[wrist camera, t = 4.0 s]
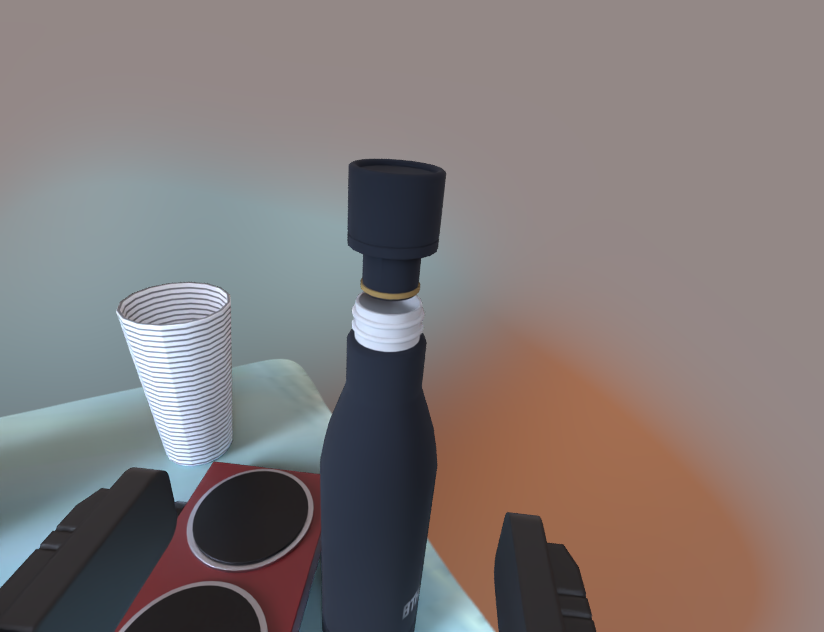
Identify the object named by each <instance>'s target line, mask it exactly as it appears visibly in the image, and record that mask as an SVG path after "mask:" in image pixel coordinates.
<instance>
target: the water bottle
mask: <svg viewBox="0 0 824 632" xmlns="http://www.w3.org/2000/svg"><path fill="white" fill-rule="evenodd" d="M445 179H446V172H445V171H444V170H443V169H442V168H440V167H437V166H435V165H431V164H426V163H420V162H414V161H406V160H394V159H362V160H357V161H353V162H351V163H350V164H349V179H348V186H349V187H348V246H350V247H351V248H352V249H353V250H355V251H357V252H359V253H361V254H363V276H362V279H361V289H362V290H363V292H362V293H360V294H359V295H358V296H357V298H356V303H355V305H354V306H353V308H352V313H353V315H354V319H353V321H352V329H351V331H350V333H349V334H348V336H347V368H346V369H347V371H346V384H345V386H344V388H343V391H342V393H341V395H340V397H339V400H338V402H337V404H336V407H335V409H334V411H333V414H332V416H331V419H330V421H329V424H328V428H327V432H326V435H325V439H324V444H323V449H322V454H321V459H320V498H321V563H322V629H323V632H414V628H415V621H416V614H417V607H418V600H419V592H420V585H421V578H422V571H423V564H424V557H425V550H426V543H427V536H428V528H429V521H430V514H431V507H432V500H433V493H434V485H435V479H436V471H437V454H436V443H435V436H434V428H433V425H432V421H431V417H430V414H429V410H428V406H427V403H426V400H425V397H424V393H423V389H422V379H423V369H424V361H425V351H426V339H425V336H424V334H423V333H422V331H423V328H424V326H423V324H422V321H423V319H424V316H425V312H424V310H423V307H422V301H421V299H420V298H419V297H418V296H417V295H416V294H417V293H418V292H419V290H420V283H419V275H420V264H421V258H424V257H427V256H431V255H432V254H434V253H435V252H437V249H438V242H439V234H440V225H441V216H442V207H443V197H444V188H445Z"/></svg>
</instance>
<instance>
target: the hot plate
mask: <svg viewBox="0 0 824 632" xmlns="http://www.w3.org/2000/svg"><path fill="white" fill-rule="evenodd" d="M175 506H176V511H177V525H176V530H175V533H174V535H173V538H172V540H171V542H170V544H169V545H168V547H167V549H166V550H165V552H164V553H163V555H162V557H161V558H160V560H159V561H158V563H157V564H156V566H155V568H154V569H153V571H152V572H151V574H150V576H149V577H148V579H147V580H146V582H145V584H144V585H143V587H142V588H141V590H140V592H139V593H138V595H137V596H136V598H135V599H134V601H133V603H132V604H131V606H130V607H129V609H128V611H127V612H126V614H125V615H124V617H123V619H122V620H121V622H120V623H119V625H118V627H117V628H116V630H115V631H114V632H299V628H300V625H301V621H302V618H303V614H304V611H305V607H306V604H307V600H308V597H309V593H310V589H311V586H312V582H313V579H314V575H315V572H316V568H317V565H318V561H319V558H320V554H321V498H320V474H315V473H306V472H298V471H290V470H281V469H273V468H265V467H256V466H248V465H239V464H231V463H223V462H213V463H212V465H211V466H210V468H209V470H208V471H207V473H206V474H205V476H204V477H203V479H202V480H201V482H200V484H199V485H198V487H197V488H196V490H195V491H194V493H193V494H192V496H191V498H190V499H189V501H188V502H181V501H177V502H175Z"/></svg>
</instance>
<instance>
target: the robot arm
mask: <svg viewBox="0 0 824 632" xmlns="http://www.w3.org/2000/svg"><path fill="white" fill-rule="evenodd" d="M176 525H177V511H176V506H175V502H174V497H173V493H172V488H171V483H170V479H169V475H168V473H167V472H166V471H163V470H154V469H146V468H137V467H132V468H129V469H128V470H126V471H125V472H124V473H123V474H122V475H121V477H120V478H119V479H118V480H117V481H116V482H115V483H114V485H113V486H112V487H111V488H110V489H105V488H101V489H100V490H98V491H97V492H95V493H94V494H92V495H91V496H89V497H88V498H86V499H85V500H83V501H82V502H80V503H79V504H77V505H76V506H75V507H74V508H73V509H72V510H71V512H70V513H69V514H68V515H67V516H66V517H65V518H64V519H63V520H62V521H61V522H60V524H59V525H58V526H57V529H56V530H55V531H52V532H51V533H50V535H49V536H48V537H47V538H46V539H45V540H44V541H43V542H42V543H41V544H40V545H41V546H40V548H39V549H36V550H35V551H34V552H33V553H32V554H31V555H30V556H29V557H28V559H27V560H26V561H25V562H24V563H23V564H22V565H21V566H20V567H19V568H18V569H17V571H16V572H15V573H14V574H13V575H12V576H11V577H10V578H9V579H8V580H7V581H6V583H5V584H4V585H3V586H2V587H1V588H0V632H114V631H115V630H116V628H117V627H118V625H119V623H120V622H121V620H122V619H123V617H124V615H125V614H126V612H127V611H128V609H129V607H130V606H131V604H132V603H133V601H134V599H135V598H136V596H137V595H138V593H139V592H140V590H141V588H142V587H143V585H144V584H145V582H146V580H147V579H148V577H149V576H150V574H151V572H152V571H153V569H154V568H155V566H156V564H157V563H158V561H159V560H160V558H161V557H162V555H163V553H164V552H165V550H166V549H167V547H168V545H169V544H170V542H171V540H172V538H173V535H174V533H175V530H176ZM494 581H495V582H494V583H495V595H496V606H497V617H498V628H499V632H596V628H595V625H594V621H593V620H592V614H591V610H590V606H589V603H588V599H587V598H586V592H585V588H584V585H583V581H582V577H581V573H580V570H579V567H578V565H577V564H576V562H575V561H574V560H573V558H572V557H571V555H570V554H569V552H568V551H567V549H566V548H565V546H564V545H563V544H554V543H547V541H546V536H545V532H544V528H543V523H542V520H541V518H540V516H535V515H527V514H518V513H509V512H507V513H506V515H505V518H504V523H503V527H502V531H501V535H500V539H499V543H498V548H497V552H496V557H495V567H494Z"/></svg>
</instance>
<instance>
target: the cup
mask: <svg viewBox="0 0 824 632" xmlns="http://www.w3.org/2000/svg"><path fill="white" fill-rule="evenodd" d="M116 313H117V316H118V319H119V321H120V324H121V327H122V330H123V333H124V336H125V338H126V341H127V344H128V347H129V350H130V353H131V356H132V358H133V361H134V364H135V367H136V370H137V373H138V376H139V378H140V381H141V384H142V387H143V390H144V393H145V395H146V398H147V401H148V404H149V407H150V410H151V413H152V415H153V418H154V421H155V424H156V427H157V430H158V432H159V435H160V438H161V441H162V444H163V447H164V450H165V452H166V454H167V456H168V457H169V459H170V460H171V461H173V462H175V463H177V464H179V465H184V466H196V465H201V464H206V463H209V462H211V461H213V460H215V459H217V458H219V457H220V456H221V455H222V454H224V453H225V452H226V451H227V450H228V448H229V446H230V445H231V443H232V441H233V436H232V366H231V365H232V363H231V301H230V294H228V293H227V292H226V291H225V290H224V289H222V288H221V287H218V286H214V285H211V284H208V283H196V282H180V283H168V284H162V285H158V286H152V287H148V288H146V289H143V290H140V291H137V292H135V293H132V294H131V295H129V296H128V297H126V298H125V299H123V300H122V301H121V302H120V303H119V306H118V308H117V311H116Z"/></svg>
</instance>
